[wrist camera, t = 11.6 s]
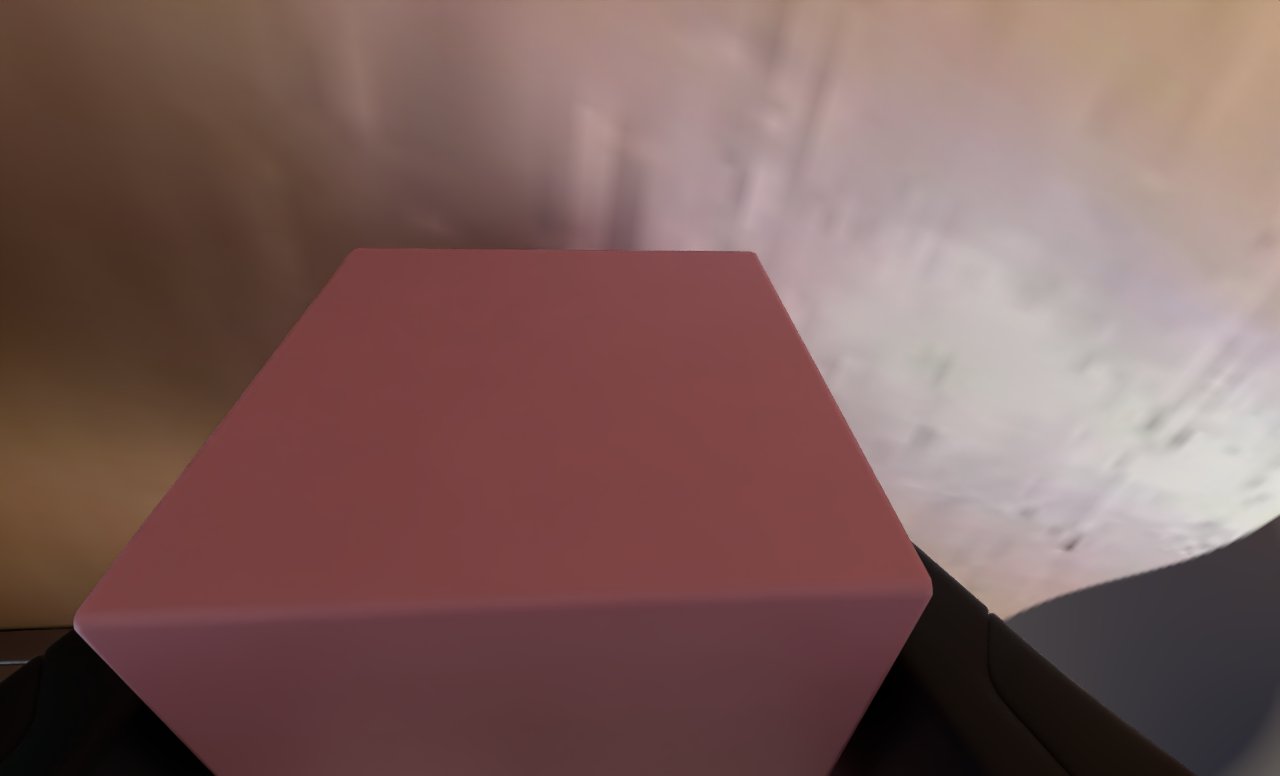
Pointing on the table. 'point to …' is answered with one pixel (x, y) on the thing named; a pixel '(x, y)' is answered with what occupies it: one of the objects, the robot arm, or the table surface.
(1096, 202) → the table surface
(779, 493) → the block
